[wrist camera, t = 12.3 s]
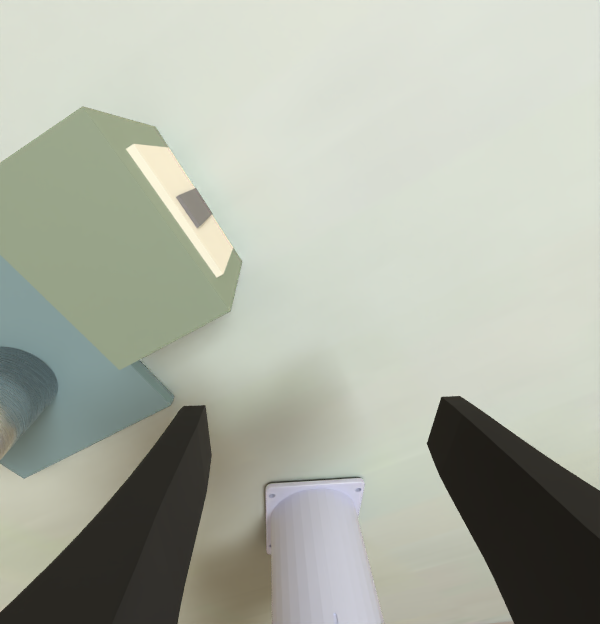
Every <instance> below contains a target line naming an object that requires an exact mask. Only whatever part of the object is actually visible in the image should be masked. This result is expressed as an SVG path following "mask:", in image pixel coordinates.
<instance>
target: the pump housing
mask: <svg viewBox="0 0 600 624" xmlns="http://www.w3.org/2000/svg"><path fill="white" fill-rule="evenodd" d="M0 255H1V256H2V257H3V258H4V259H5V260H6V261H7V262H8V263H9V264H10V265H11V266H12V267H13V268H14V269H15V270H16V271H17V272H18V273H20V274H21V275H22V276H23V277H24V278H25V279H26V280H27V281H28V282H29V283H30V284H31V285H32V286H33V287H34V288H35V289H36V290H37V291H38V292H39V293H40V294H41V295H42V296H43V297H44V298H45V299H46V300H47V301H48V302H49V303H51V304H52V305H53V306H54V307H55V308H56V309H57V310H58V311H59V312H60V313H61V314H62V315H63V316H64V317H65V318H66V319H67V320H68V321H69V322H70V323H71V324H72V325H73V326H74V327H75V328H76V329H77V330H78V331H79V332H80V333H81V334H83V335H84V336H85V337H86V338H87V339H88V340H89V341H90V342H91V343H92V344H93V345H94V346H95V347H96V348H97V349H98V350H99V351H100V352H101V353H102V354H103V355H104V356H105V357H106V358H107V359H108V360H109V361H110V362H111V363H112V364H114V365H115V366H116V367H117V368H118V369H119V370H121V369H123V368H125V367H127V366H129V365H131V364H132V363H134V362H136V361H138V360H140V359H142V358H144V357H146V356H147V355H149V354H151V353H153V352H155V351H157V350H159V349H161V348H162V347H164V346H166V345H168V344H170V343H172V342H174V341H176V340H177V339H179V338H181V337H183V336H185V335H187V334H189V333H191V332H192V331H194V330H196V329H198V328H200V327H202V326H204V325H206V324H207V323H209V322H211V321H213V320H215V319H217V318H219V317H221V316H222V315H224V314H226V313H228V312H230V311H231V307H232V303H233V299H234V295H235V290H236V286H237V282H238V278H239V274H240V269H241V265H242V261H241V259H240V258H239V256H238V254H237V253H236V251H235V250H234V248H233V246H232V245H231V243H230V242H229V240H228V239H227V237H226V236H225V234H224V232H223V231H222V229H221V228H220V226H219V225H218V223H217V222H216V220H215V218H214V217H213V215H212V212H211V211H210V209H209V208H208V206H207V204H206V203H205V201H204V200H203V198H202V197H201V195H200V194H199V192H198V190H197V189H196V188H195V187H194V186H193V184H192V183H191V181H190V180H189V178H188V176H187V175H186V173H185V172H184V170H183V169H182V167H181V166H180V164H179V162H178V161H177V159H176V158H175V156H174V155H173V153H172V152H171V150H170V149H169V147H168V146H167V144H166V143H165V141H164V139H163V138H162V136H161V135H160V133H159V132H158V130H157V129H156V127H154V126H151V125H147V124H144V123H140V122H136V121H133V120H129V119H126V118H122V117H119V116H115V115H112V114H108V113H104V112H101V111H97V110H94V109H90V108H87V107H81V108H80V109H78V110H77V111H75V112H74V113H72V114H71V115H69V116H68V117H66V118H65V119H64V120H62V121H61V122H59V123H58V124H56V125H55V126H53V127H52V128H50V129H49V130H47V131H46V132H45V133H43V134H42V135H40V136H39V137H37V138H36V139H34V140H33V141H31V142H30V143H28V144H27V145H26V146H24V147H23V148H21V149H20V150H18V151H17V152H15V153H14V154H12V155H11V156H9V157H8V158H7V159H5V160H4V161H2V162H1V163H0Z"/></svg>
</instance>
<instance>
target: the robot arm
mask: <svg viewBox="0 0 600 624" xmlns="http://www.w3.org/2000/svg"><path fill="white" fill-rule="evenodd" d="M427 445H428V448H429V450H430V453H431V455H432V458H433V461H434V463H435V466H436V468H437V470H438V473H439V475H440V477H441V479H442V481H443V483H444V485H445V487H446V489H447V491H448V493H449V495H450V496H451V498H452V500H453V502H454V504H455V506H456V508H457V509H458V511H459V513H460V515H461V517H462V519H463V520H464V522H465V524H466V526H467V528H468V530H469V531H470V533H471V535H472V537H473V539H474V541H475V542H476V544H477V546H478V548H479V550H480V552H481V553H482V555H483V557H484V559H485V561H486V563H487V565H488V567H489V569H490V571H491V573H492V575H493V577H494V579H495V581H496V584H497V586H498V588H499V590H500V593H501V595H502V597H503V599H504V602H505V604H506V606H507V608H508V611H509V613H510V615H511V617H512V620H513V622H514V624H600V491H599V490H598V489H596V488H595V487H593V486H591V485H590V484H588V483H587V482H585V481H583V480H582V479H580V478H579V477H577V476H576V475H574V474H573V473H571V472H569V471H568V470H566V469H565V468H563V467H562V466H560V465H559V464H557V463H556V462H554V461H553V460H551V459H550V458H548V457H547V456H545V455H544V454H542V453H541V452H539V451H538V450H536V449H535V448H534V447H532V446H531V445H529V444H528V443H526V442H525V441H524V440H522V439H521V438H519V437H518V436H516V435H515V434H514V433H512V432H511V431H509V430H508V429H507V428H505V427H504V426H502V425H501V424H500V423H498V422H497V421H495V420H494V419H493V418H491V417H490V416H488V415H487V414H485V413H484V412H483V411H481V410H480V409H478V408H477V407H476V406H474V405H473V404H471V403H470V402H468V401H467V400H465V399H464V398H462V397H460V396H452V397H441V400H440V403H439V407H438V410H437V413H436V416H435V419H434V423H433V426H432V429H431V432H430V435H429V439H428V442H427ZM210 463H211V447H210V439H209V431H208V423H207V414H206V406H205V405H203V406H183V407H182V408H181V409H180V410H179V412H178V413H177V415H176V416H175V418H174V419H173V420H172V422H171V423H170V425H169V426H168V427H167V429H166V430H165V432H164V433H163V434H162V436H161V437H160V438H159V440H158V441H157V442H156V444H155V445H154V446H153V448H152V449H151V450H150V452H149V453H148V454H147V455H146V457H145V458H144V459H143V460H142V462H141V463H140V464H139V466H138V467H137V468H136V469H135V471H134V472H133V473H132V474H131V476H130V477H129V478H128V479H127V480H126V482H125V483H124V484H123V485H122V486H121V487H120V489H119V490H118V491H117V492H116V493H115V494H114V496H113V497H112V498H111V499H110V500H109V501H108V503H107V504H106V505H105V506H104V507H103V508H102V510H101V511H100V512H99V513H98V514H97V515H96V516H95V517H94V518H93V520H92V521H91V522H90V523H89V524H88V525H87V526H86V527H85V528H84V529H83V530H82V532H81V533H80V534H79V535H78V536H77V537H76V538H75V539H74V540H73V541H72V542H71V543H70V544H69V545H68V546H67V547H66V548H65V549H64V550H63V551H62V552H61V553H60V555H59V556H58V557H57V558H56V559H55V560H54V561H53V562H52V563H51V564H50V565H49V566H48V567H47V568H46V569H45V570H44V571H43V572H42V573H40V574H39V575H38V576H37V577H36V578H35V579H34V580H33V581H32V582H31V583H30V584H29V585H28V586H27V587H26V588H25V589H24V590H23V591H22V592H21V593H20V594H19V595H18V596H17V597H16V598H15V599H14V600H13V601H12V602H11V603H10V604H9V605H8V606H7V607H5V608H4V609H3V610H2V611H1V612H0V624H177V623H178V617H179V611H180V606H181V601H182V596H183V591H184V586H185V582H186V577H187V573H188V569H189V565H190V561H191V556H192V552H193V548H194V544H195V539H196V535H197V531H198V527H199V523H200V518H201V514H202V510H203V505H204V501H205V497H206V492H207V486H208V478H209V471H210ZM364 486H365V483H364V480H363V479H361V478H350V479H334V480H318V481H302V482H286V483H271V484H268V485H267V486H266V552H267V554H269V555H271V582H272V624H385V623H384V619H383V615H382V611H381V608H380V604H379V600H378V596H377V592H376V588H375V584H374V580H373V576H372V572H371V568H370V564H369V560H368V556H367V552H366V548H365V544H364V540H363V536H362V532H361V528H360V524H359V521H358V516H359V511H360V506H361V501H362V496H363V491H364Z"/></svg>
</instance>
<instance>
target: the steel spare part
mask: <svg viewBox="0 0 600 624" xmlns="http://www.w3.org/2000/svg"><path fill="white" fill-rule="evenodd" d="M57 392H58V381H57V378H56V376H55V374H54V372H53V371H52V369H51V368H50V367H49V366H48V365H47V364H46V363H45V362H44V361H42V360H41V359H40V358H38V357H36V356H35V355H33V354H31V353H29V352H26V351H24V350H20V349H17V348H12V347H1V346H0V460H1V459H2V458H3V456H4V455H5V454H6V453H7V452H8V451H9V450H10V448H11V447H12V446H13V445H14V444H15V443H16V442H17V440H18V439H19V438H20V437H21V436H22V435H23V433H24V432H25V431H26V430H27V429H28V428H29V427H30V425H31V424H32V423H33V422H34V421H35V420H36V419H37V417H38V416H39V415H40V414H41V413H42V412H43V411H44V409H45V408H46V407H47V406H48V405H49V404H50V402H51V401H52V400H53V399H54V398H55V396H56V394H57Z"/></svg>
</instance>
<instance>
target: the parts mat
mask: <svg viewBox="0 0 600 624" xmlns="http://www.w3.org/2000/svg"><path fill="white" fill-rule="evenodd" d="M0 346H1V347H12V348H17V349H20V350H24V351H26V352H29V353H31V354H33V355H35V356H36V357H38V358H40V359H41V360H42V361H44V362H45V363H46V364H47V365H48V366H49V367H50V368H51V369H52V371H53V372H54V374H55V376H56V378H57V381H58V392H57V394H56V396H55V398H54V399H53V400H52V401H51V402H50V404H49V405H48V406H47V407H46V408H45V409H44V411H43V412H42V413H41V414H40V415H39V416H38V417H37V419H36V420H35V421H34V422H33V423H32V424H31V425H30V427H29V428H28V429H27V430H26V431H25V432H24V433H23V435H22V436H21V437H20V438H19V439H18V440H17V442H16V443H15V444H14V445H13V446H12V447H11V448H10V450H9V451H8V452H7V453H6V454H5V455H4V456H3V458H2V459H1V460H0V464H2V465H3V466H5V467H6V468H8V469H10V470H11V471H13V472H14V473H16V474H17V475H19V476H21V477H22V478H24V479H25V478H27V477H29V476H31V475H33V474H35V473H37V472H39V471H41V470H43V469H45V468H47V467H49V466H51V465H53V464H55V463H57V462H59V461H61V460H63V459H65V458H67V457H69V456H71V455H73V454H75V453H77V452H79V451H80V450H82V449H84V448H86V447H88V446H90V445H92V444H94V443H96V442H98V441H100V440H102V439H104V438H106V437H108V436H110V435H112V434H114V433H116V432H118V431H120V430H122V429H124V428H126V427H128V426H130V425H132V424H134V423H136V422H138V421H140V420H142V419H144V418H146V417H148V416H150V415H152V414H154V413H156V412H158V411H160V410H162V409H164V408H166V407H168V406H170V405H171V404H172V401H173V399H174V396H173V395H172V394H171V393H170V391H169V390H168V389H167V388H166V387H165V386H164V385H163V384H162V383H161V382H160V381H159V380H158V379H157V378H156V377H155V376H154V375H153V374H152V373H151V372H150V371H149V370H148V369H147V368H146V367H145V366H144V365H143V364H142V363H141V362H140V361H139V360H138V361H136V362H134V363H132V364H131V365H129V366H127V367H125V368H123V369H121V370H119V369H118V368H117V367H116V366H115V365H114V364H112V363H111V362H110V361H109V360H108V359H107V358H106V357H105V356H104V355H103V354H102V353H101V352H100V351H99V350H98V349H97V348H96V347H95V346H94V345H93V344H92V343H91V342H90V341H89V340H88V339H87V338H86V337H85V336H84V335H83V334H81V333H80V332H79V331H78V330H77V329H76V328H75V327H74V326H73V325H72V324H71V323H70V322H69V321H68V320H67V319H66V318H65V317H64V316H63V315H62V314H61V313H60V312H59V311H58V310H57V309H56V308H55V307H54V306H53V305H52V304H51V303H49V302H48V301H47V300H46V299H45V298H44V297H43V296H42V295H41V294H40V293H39V292H38V291H37V290H36V289H35V288H34V287H33V286H32V285H31V284H30V283H29V282H28V281H27V280H26V279H25V278H24V277H23V276H22V275H21V274H20V273H18V272H17V271H16V270H15V269H14V268H13V267H12V266H11V265H10V264H9V263H8V262H7V261H6V260H5V259H4V258H3V257H2V256H1V255H0Z"/></svg>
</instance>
